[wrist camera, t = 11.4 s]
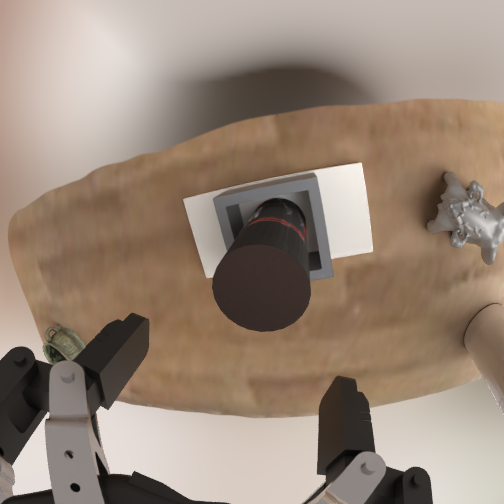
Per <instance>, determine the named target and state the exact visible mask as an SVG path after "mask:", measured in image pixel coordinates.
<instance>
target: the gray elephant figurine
mask: <svg viewBox="0 0 504 504" xmlns="http://www.w3.org/2000/svg"><path fill="white" fill-rule="evenodd" d="M444 180H445V182H446V183H447V185H448V187H447V189H446V192H445V193H444V194H442V195H441V199H442V201H443V202H442V203H440V204H438V205H437V206H438V211H439V212H438V214H437V218H436V219H435V220H430V221H428V223H427V228H428V230H429V232H430V233H432V234H435V233H437V232H441V231H446V230H448V231H452V232H453V234H452V236H451V238H450V244H451V245H452V246H454V247H457V248H462V247H463V245H464V243H465V242H467V243H471V244H476V245H478V246H480V247H481V256H482V259H483V261H484V262H485V263H486V264H488V265H492V264H493V261H494V257H495V255H496V253H497V247H498V246H499V245H500V244H501V243H502V242H503V241H504V202H503V203H501V204H500V205H499V206H498V207H497V208H495V207H494V206H492V205H490V204H489V203H488V202H487V201H486V200H485V199H484V198H482V196H483V190H484V189H483V186H482V185H480V184H479V183H478V182H476V181H472V182H471V183H470V186H469V191H466V190H465V189H464V188H463V187H462V185H461V184H460V182H459V180H458V178H457V177H456V174H455V173H453V172H447V173H446V174H445V175H444Z"/></svg>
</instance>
